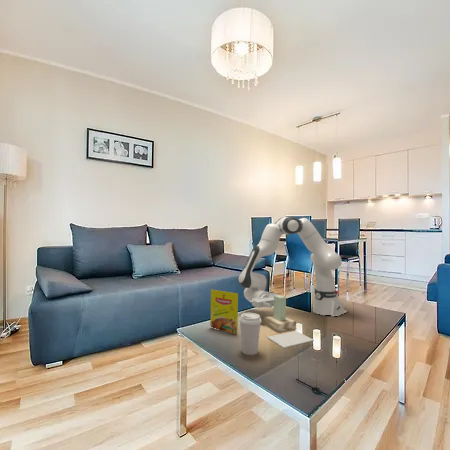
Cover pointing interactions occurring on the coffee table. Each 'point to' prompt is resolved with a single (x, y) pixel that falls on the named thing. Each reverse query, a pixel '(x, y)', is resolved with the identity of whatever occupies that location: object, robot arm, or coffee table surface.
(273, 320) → the plate
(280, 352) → the coffee table surface
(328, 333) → the coffee table surface
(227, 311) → the food package
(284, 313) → the sage green pillar
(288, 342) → the rubber mat
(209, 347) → the coffee table surface
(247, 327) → the coffee cup
